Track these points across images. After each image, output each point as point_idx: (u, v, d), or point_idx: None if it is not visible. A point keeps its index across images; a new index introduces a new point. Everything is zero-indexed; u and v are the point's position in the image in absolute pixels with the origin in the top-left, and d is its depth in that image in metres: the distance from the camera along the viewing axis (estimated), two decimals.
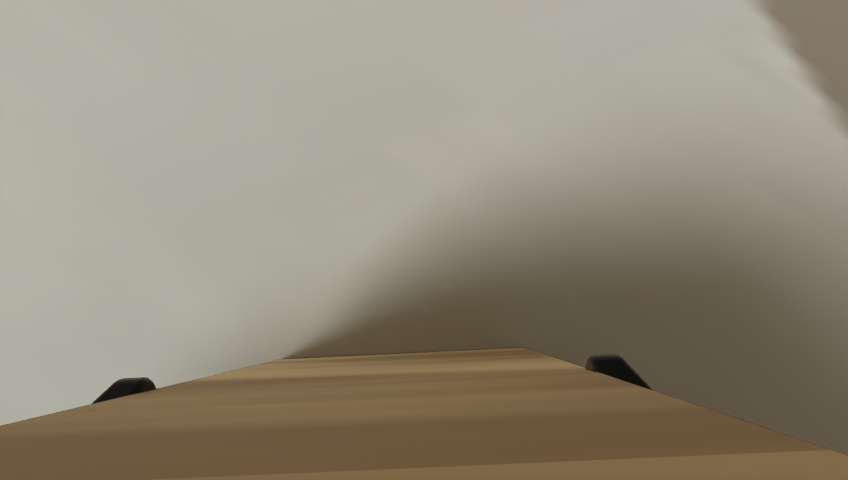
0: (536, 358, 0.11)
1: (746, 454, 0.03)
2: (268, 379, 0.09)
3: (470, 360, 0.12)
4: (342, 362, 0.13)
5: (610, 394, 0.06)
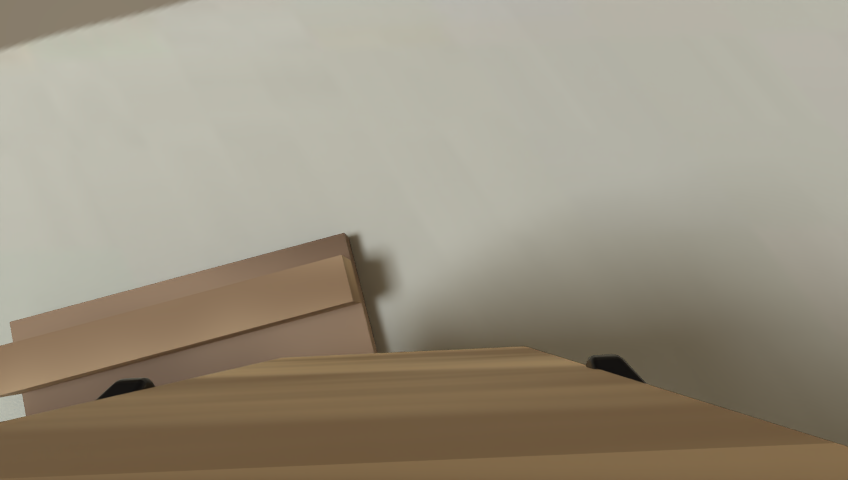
0: (538, 356, 0.11)
1: (752, 447, 0.03)
2: (270, 376, 0.09)
3: (472, 358, 0.12)
4: (344, 360, 0.13)
5: (613, 390, 0.06)
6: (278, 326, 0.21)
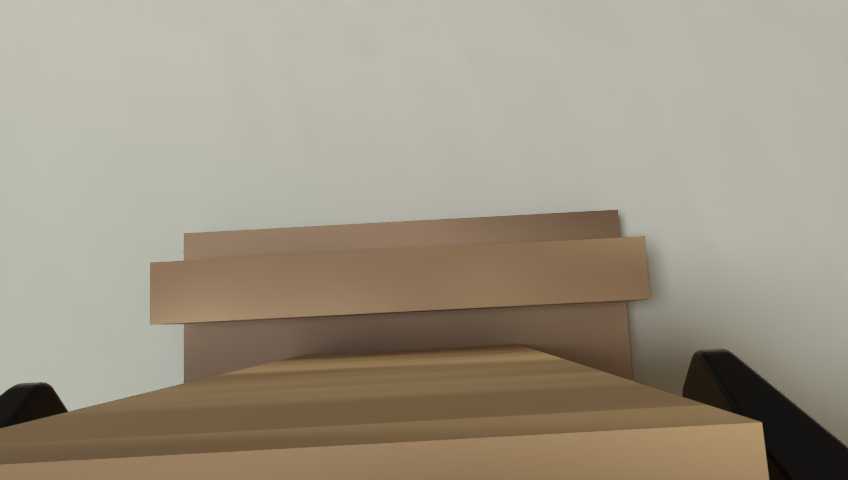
0: (524, 352, 0.13)
1: (650, 408, 0.05)
2: (290, 372, 0.11)
3: (466, 354, 0.13)
4: (351, 358, 0.14)
5: (575, 377, 0.07)
6: (515, 308, 0.17)
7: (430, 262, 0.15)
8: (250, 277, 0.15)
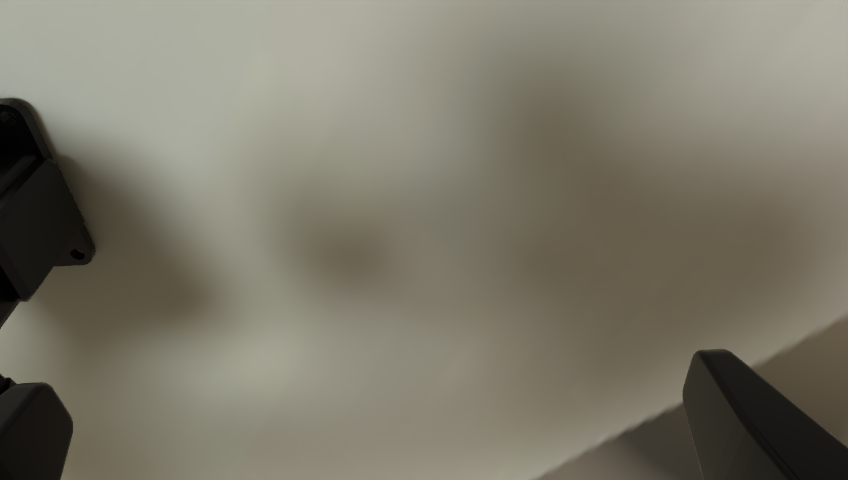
0: None
1: None
2: None
3: None
4: None
5: None
6: None
7: None
8: None
